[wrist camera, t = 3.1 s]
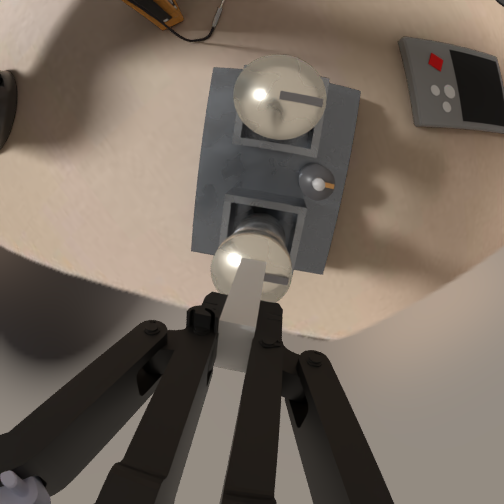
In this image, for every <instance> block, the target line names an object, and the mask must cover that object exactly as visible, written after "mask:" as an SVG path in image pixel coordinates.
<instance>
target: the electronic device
mask: <svg viewBox="0 0 504 504" xmlns="http://www.w3.org/2000/svg"><path fill="white" fill-rule="evenodd" d="M398 44H399V48H400V52H401V56H402V60H403V64H404V69H405V73H406V78H407V83H408V89H409V94H410V100H411V106H412V113H413V120H414V125H415V126H416V127H440V128H456V129H468V130H478V131H487V132H495V133H502V134H504V87H503V82H502V77H501V73H500V69H499V64H498V60H497V58H496V57H495V56H492V55H489V54H486V53H483V52H479V51H476V50H472V49H468V48H464V47H460V46H456V45H452V44H447V43H442V42H437V41H431V40H426V39H419V38H412V37H402V38H401V39H400V40H399V41H398Z"/></svg>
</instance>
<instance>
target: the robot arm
mask: <svg viewBox="0 0 504 504" xmlns="http://www.w3.org/2000/svg"><path fill="white" fill-rule="evenodd" d="M16 101H17V89H16V82H15V79H14V77H13V75H12V74H11V73H10V72H9V71H1V70H0V149H1V148H2V146H3V145H4V143H5V142H6V140H7V138H8V135H9V133H10V130H11V127H12V124H13V120H14V116H15V110H16ZM265 268H266V262H264V261H258V260H253V259H247V258H242V259H241V261H240V264H239V267H238V270H237V272H236V275H235V278H234V281H233V283H232V286H231V289H230V292H229V294H228V295H226V294H221V293H216V292H211V293H210V294H208V295H207V296H206V297H205V299H204V301H203V303H202V305H201V306H194V307H191V308H189V309H188V311H187V324H186V328H185V329H183V330H167V327H166V325H165V324H163V323H162V322H160V321H156V320H148V321H144V322H142V323H140V324H139V325H138V326H136V327H135V328H134V329H133V330H132V331H130V332H129V333H128V334H127V335H125V336H124V337H123V338H122V339H120V340H119V341H118V342H117V343H115V344H114V345H113V346H112V347H111V348H109V349H108V350H107V351H106V352H104V354H102V355H101V356H99V357H98V358H97V359H96V360H95V361H93V362H92V363H91V364H90V365H88V366H87V367H86V368H85V369H84V370H83V371H81V372H80V373H79V374H78V375H76V376H75V377H74V378H73V379H72V380H70V381H69V382H68V383H67V384H66V385H64V386H63V387H62V388H61V389H59V390H58V391H57V392H56V393H55V394H53V395H52V396H51V397H50V398H49V399H48V400H46V401H45V402H44V403H43V404H42V405H40V406H39V407H38V408H37V409H36V410H34V411H33V412H32V413H31V414H30V415H29V416H27V417H26V418H25V419H24V420H23V421H21V422H20V423H19V424H18V425H17V426H15V427H14V428H13V429H12V430H11V431H10V432H8V433H5V434H2V435H0V504H51V501H50V496H52V495H55V494H56V493H58V492H59V491H60V490H62V489H64V488H65V487H66V486H67V485H68V484H69V483H70V482H71V481H72V480H73V479H74V478H75V477H76V476H77V475H78V474H79V473H80V472H81V471H82V470H83V469H84V468H85V467H86V466H87V465H88V463H89V462H90V461H91V460H92V459H93V458H94V457H95V456H96V455H97V454H98V453H99V452H100V451H101V450H102V449H103V447H104V446H105V445H106V444H107V443H108V442H109V441H110V440H111V439H112V438H113V436H115V434H116V433H117V432H118V431H119V430H120V429H121V428H122V427H123V426H124V425H125V424H126V422H127V421H128V420H129V419H130V418H131V417H132V416H133V415H134V414H135V413H136V411H137V410H138V409H139V408H140V407H141V406H142V405H143V404H144V403H145V402H146V400H147V399H148V398H149V397H150V396H151V395H152V394H153V393H154V394H153V396H152V398H151V400H150V402H149V404H148V406H147V409H146V411H145V413H144V415H143V417H142V419H141V421H140V423H139V426H138V428H137V430H136V432H135V435H134V437H133V439H132V441H131V443H130V445H129V447H128V449H127V452H126V454H125V456H124V458H123V460H122V461H121V462H118V463H115V464H114V466H112V468H111V470H110V472H109V474H108V476H107V478H106V480H105V482H104V485H103V487H102V489H101V491H100V494H99V496H98V498H97V500H96V503H95V504H174V500H175V496H176V493H177V490H178V486H179V483H180V480H181V477H182V473H183V469H184V467H185V463H186V460H187V457H188V453H189V450H190V447H191V443H192V440H193V437H194V433H195V430H196V427H197V424H198V420H199V417H200V414H201V410H202V407H203V404H204V401H205V397H206V394H207V391H208V387H209V384H210V381H211V377H212V374H213V366H216V367H220V368H225V369H229V370H235V371H240V372H245V373H246V375H245V379H244V384H243V389H242V395H241V400H240V405H239V411H238V416H237V421H236V426H235V431H234V436H233V441H232V446H231V451H230V456H229V461H228V466H227V471H226V476H225V480H224V485H223V490H222V495H221V499H220V504H276V500H275V498H274V488H275V477H276V466H277V453H278V440H279V424H280V409H281V396H282V397H285V403H286V406H287V410H288V414H289V417H290V421H291V425H292V428H293V432H294V435H295V439H296V443H297V446H298V450H299V454H300V457H301V461H302V464H303V468H304V472H305V475H306V478H307V482H308V486H309V489H310V493H311V496H312V500H313V504H394V502H393V500H392V498H391V495H390V493H389V490H388V488H387V486H386V484H385V481H384V479H383V477H382V474H381V472H380V470H379V468H378V465H377V463H376V461H375V459H374V456H373V454H372V452H371V449H370V447H369V445H368V443H367V440H366V438H365V436H364V434H363V432H362V429H361V427H360V425H359V423H358V421H357V418H356V416H355V414H354V412H353V410H352V408H351V405H350V404H349V401H348V399H347V397H346V395H345V392H344V390H343V388H342V386H341V384H340V382H339V380H338V377H337V375H336V373H335V371H334V369H333V367H332V365H331V363H330V361H329V359H328V358H327V356H326V355H324V354H323V353H321V352H318V351H314V350H308V351H304V352H303V353H301V355H299V354H296V353H294V352H291V351H290V350H288V349H287V348H286V347H285V346H284V345H283V342H282V313H283V309H282V308H281V306H280V305H279V303H273V302H267V301H262V300H260V299H261V293H262V287H263V281H264V274H265ZM214 363H215V365H214ZM154 391H155V392H154Z"/></svg>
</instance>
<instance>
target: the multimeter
mask: <svg viewBox="0 0 504 504" xmlns="http://www.w3.org/2000/svg"><path fill="white" fill-rule="evenodd" d="M122 1H123V2H124V3H126V4H127V5H129V6H130V7H132V8H133V9H134V10H136V11H137V12H139V13H140V14H141V15H143V16H144V17H145V18H147V19H148V20H150V21H151V22H152V23H154V24H155V25H156V26H158V27H159V28H160V29H161V30H166V29H168V30H170V31H171V32H172V33H173V34H175V35H176V36H178V37H179V38H181V39H183V40H185V41H189V42H196V41H202V40H205V39H207V38H209V37H210V36H211V34H212V32H213V30H214V27H215V26H216V24H217V22H218V19H219V16H220V14H221V11H222V10H223V8H221V7H222V5H223V2H224V0H222V3H221V6H220V7H218V10H217V12H216V15H215V18H214V20H213V23H212V29H211V31H210V33H209V35H208V36H206V37H205V38H202V39H195V40H189V39H186V38H184V37H182V36H180V35H179V34H177V33H176V32H175V31H174V30H172V29H171V28H170V27H171V26H173V25H175V24H177V23H180V22H182V21H183V20H184V18H183V16H182V14H181V12H180V9H179V7H178V5H177V3H176V1H175V0H122Z"/></svg>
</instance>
